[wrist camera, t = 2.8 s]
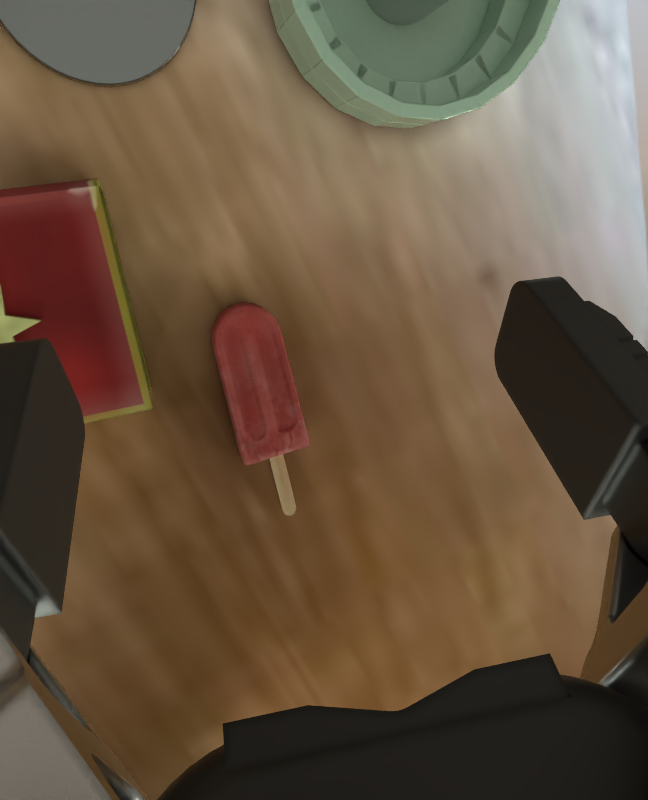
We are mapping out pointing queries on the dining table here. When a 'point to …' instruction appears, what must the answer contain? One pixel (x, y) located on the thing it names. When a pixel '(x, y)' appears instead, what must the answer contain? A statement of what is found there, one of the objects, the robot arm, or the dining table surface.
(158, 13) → the coaster
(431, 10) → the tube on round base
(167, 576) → the dining table surface
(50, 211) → the hardcover book
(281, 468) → the popsicle
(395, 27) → the bowl
